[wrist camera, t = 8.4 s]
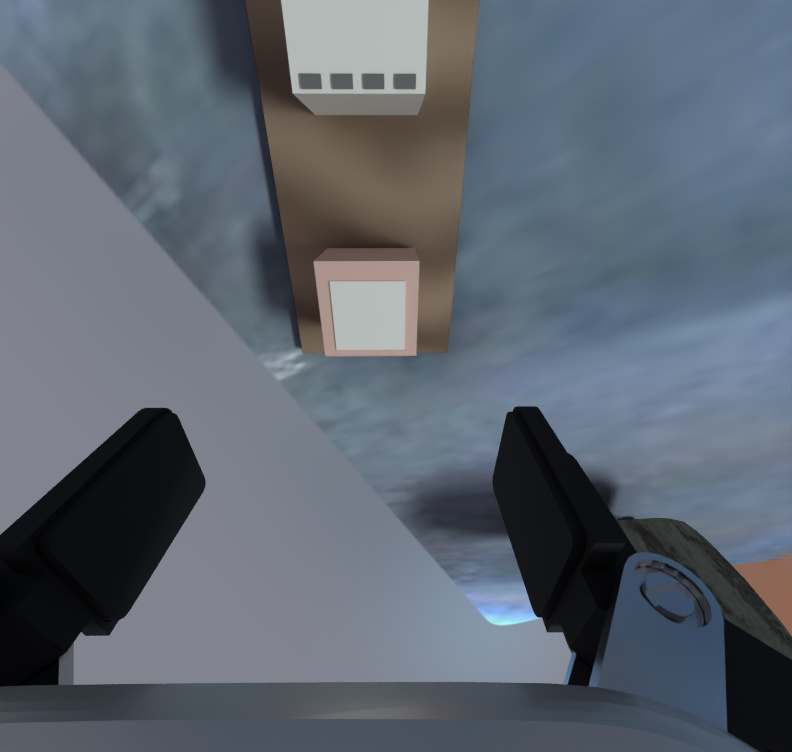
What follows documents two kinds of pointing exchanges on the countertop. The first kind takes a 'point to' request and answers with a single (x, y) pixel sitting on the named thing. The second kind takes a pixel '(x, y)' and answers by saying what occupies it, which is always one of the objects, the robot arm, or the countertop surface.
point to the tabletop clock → (710, 576)
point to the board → (371, 169)
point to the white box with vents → (357, 55)
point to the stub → (368, 301)
